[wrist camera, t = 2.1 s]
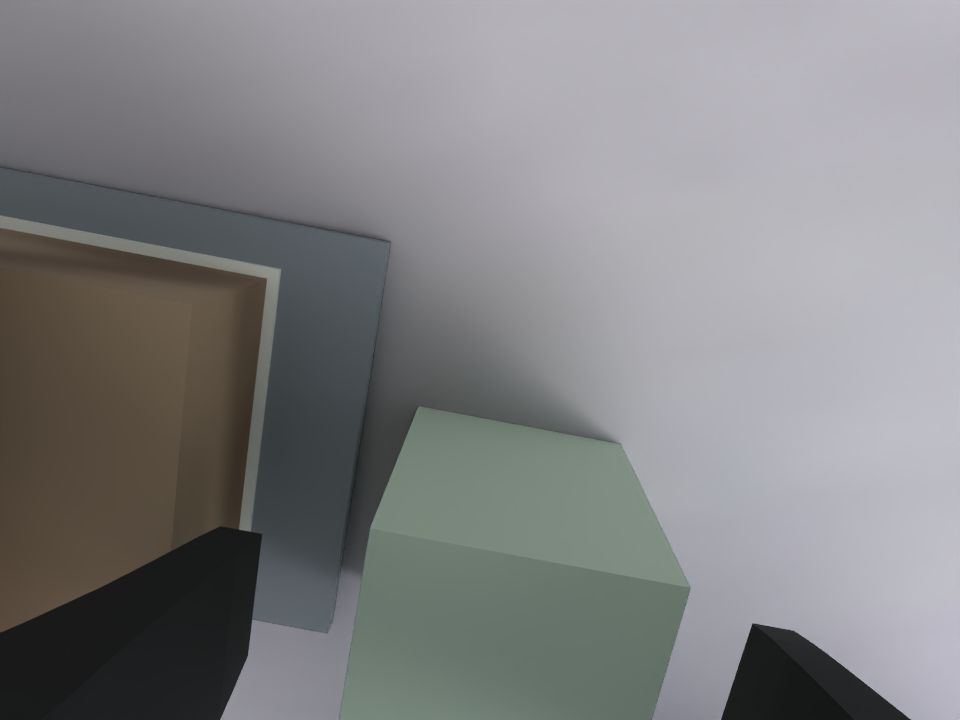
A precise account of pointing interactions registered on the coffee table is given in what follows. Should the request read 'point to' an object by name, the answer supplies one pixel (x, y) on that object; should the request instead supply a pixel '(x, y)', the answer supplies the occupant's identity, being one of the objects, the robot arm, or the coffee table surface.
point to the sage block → (512, 581)
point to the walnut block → (115, 412)
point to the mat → (260, 361)
